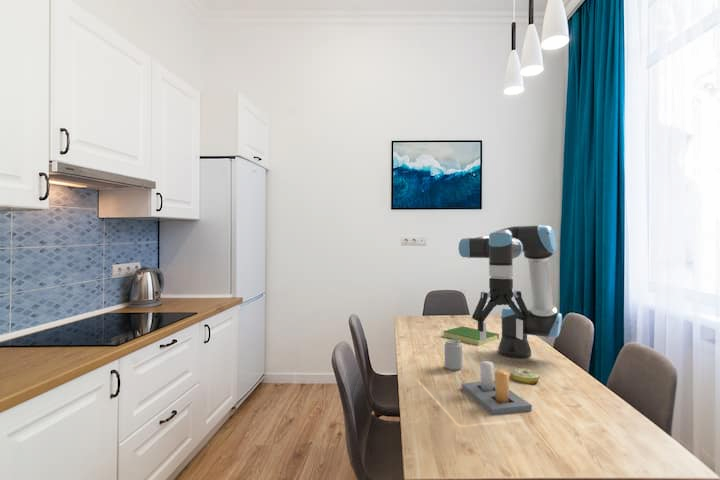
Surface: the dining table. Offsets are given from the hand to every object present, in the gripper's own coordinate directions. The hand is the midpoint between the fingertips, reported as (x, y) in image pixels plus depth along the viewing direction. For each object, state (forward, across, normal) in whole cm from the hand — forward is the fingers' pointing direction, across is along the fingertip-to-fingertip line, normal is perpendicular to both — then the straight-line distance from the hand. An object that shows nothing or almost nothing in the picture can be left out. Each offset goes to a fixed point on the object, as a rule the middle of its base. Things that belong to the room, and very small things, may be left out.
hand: (501, 339), depth 129 cm
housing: (+23, 0, -5) cm, 23 cm away
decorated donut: (+23, -22, -20) cm, 37 cm away
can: (+23, 0, -39) cm, 45 cm away
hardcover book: (+24, -30, -84) cm, 92 cm away
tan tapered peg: (+22, 0, 0) cm, 22 cm away
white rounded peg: (+22, 0, -10) cm, 24 cm away
